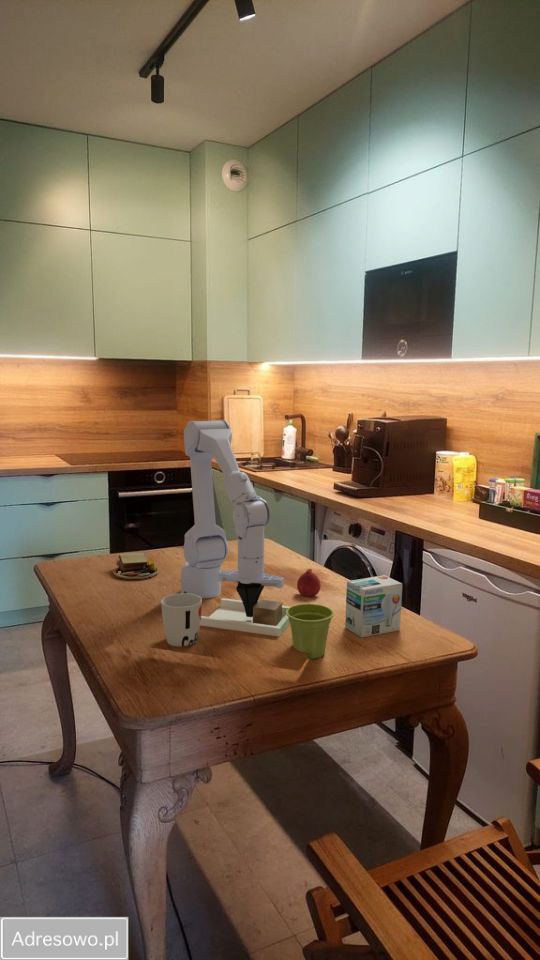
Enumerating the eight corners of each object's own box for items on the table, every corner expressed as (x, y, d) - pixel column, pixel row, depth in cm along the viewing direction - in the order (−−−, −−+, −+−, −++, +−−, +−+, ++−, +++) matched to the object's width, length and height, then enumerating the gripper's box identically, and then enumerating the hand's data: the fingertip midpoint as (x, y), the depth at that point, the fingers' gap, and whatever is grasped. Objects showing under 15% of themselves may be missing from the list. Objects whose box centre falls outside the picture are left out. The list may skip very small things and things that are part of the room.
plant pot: (298, 666, 122) (299, 623, 121) (277, 647, 131) (278, 606, 129) (341, 658, 126) (342, 616, 124) (318, 640, 134) (319, 600, 133)
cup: (184, 659, 125) (184, 610, 123) (153, 649, 129) (152, 601, 127) (210, 644, 131) (210, 598, 130) (179, 636, 136) (179, 590, 134)
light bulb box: (361, 638, 136) (363, 589, 134) (343, 627, 142) (345, 580, 140) (401, 630, 141) (403, 582, 139) (382, 619, 146) (384, 574, 145)
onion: (318, 604, 155) (319, 573, 154) (295, 602, 156) (295, 571, 155) (321, 596, 161) (322, 566, 160) (298, 595, 162) (299, 564, 161)
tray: (199, 631, 138) (199, 617, 138) (222, 611, 150) (222, 598, 150) (279, 643, 133) (279, 628, 132) (296, 621, 145) (296, 607, 144)
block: (252, 624, 138) (253, 606, 138) (260, 616, 143) (260, 599, 142) (274, 628, 137) (275, 610, 136) (281, 619, 142) (282, 602, 141)
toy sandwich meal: (113, 583, 171) (112, 565, 170) (113, 568, 184) (112, 552, 183) (160, 580, 174) (160, 563, 173) (157, 566, 187) (157, 550, 186)
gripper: (212, 557, 137) (212, 617, 139) (277, 563, 133) (276, 626, 135) (225, 548, 144) (225, 606, 146) (287, 555, 139) (286, 614, 142)
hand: (250, 615), depth 141 cm, fingers closed
